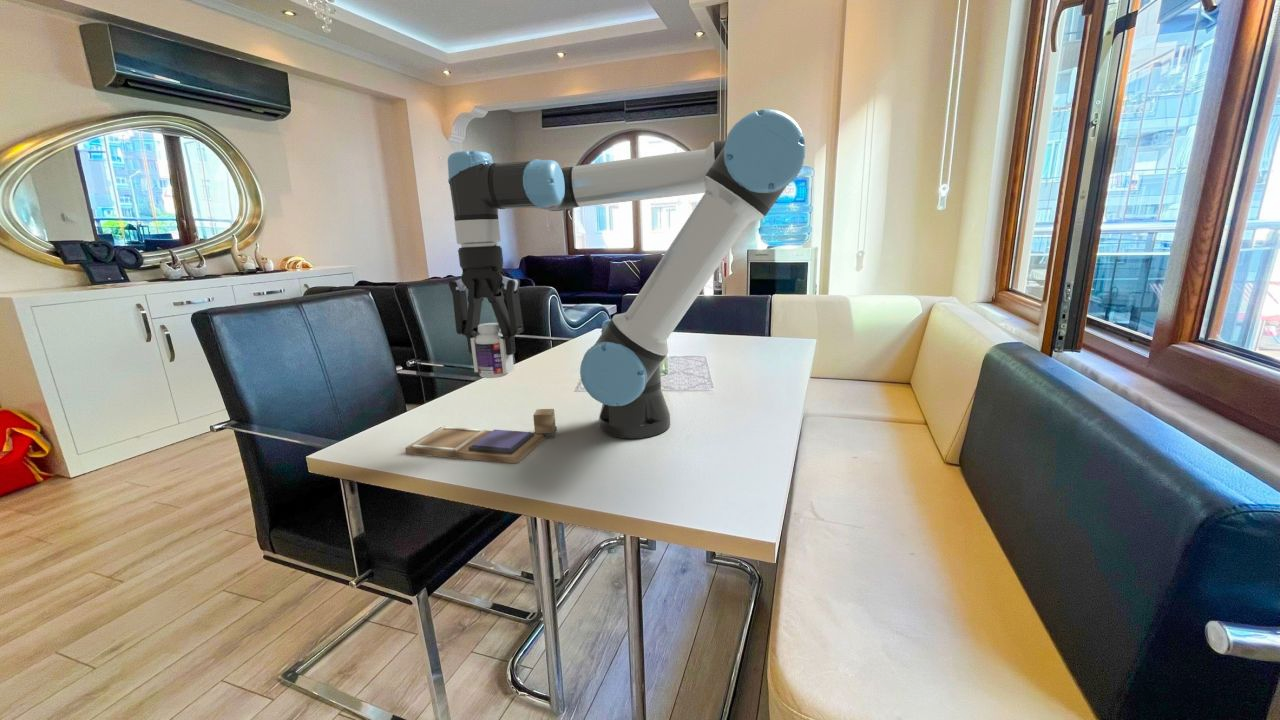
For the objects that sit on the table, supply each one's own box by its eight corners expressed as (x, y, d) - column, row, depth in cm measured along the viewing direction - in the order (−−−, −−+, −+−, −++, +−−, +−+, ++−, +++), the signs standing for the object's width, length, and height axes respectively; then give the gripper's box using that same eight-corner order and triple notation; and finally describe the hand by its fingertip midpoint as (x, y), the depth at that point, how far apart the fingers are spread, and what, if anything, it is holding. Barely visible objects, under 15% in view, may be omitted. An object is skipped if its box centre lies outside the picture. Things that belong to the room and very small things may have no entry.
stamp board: (543, 440, 104) (542, 429, 104) (517, 463, 94) (515, 452, 93) (441, 432, 111) (440, 422, 110) (406, 453, 100) (404, 442, 100)
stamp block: (556, 430, 109) (555, 408, 108) (553, 438, 105) (551, 414, 104) (538, 431, 109) (536, 408, 108) (534, 438, 105) (532, 415, 104)
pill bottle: (500, 379, 95) (494, 326, 92) (474, 378, 96) (467, 327, 93) (514, 371, 100) (508, 321, 97) (489, 370, 101) (483, 321, 99)
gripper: (536, 242, 93) (547, 367, 98) (449, 246, 98) (464, 364, 104) (514, 244, 86) (528, 378, 91) (422, 248, 91) (440, 374, 97)
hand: (494, 370), depth 97 cm, fingers closed on pill bottle, 5 cm apart
